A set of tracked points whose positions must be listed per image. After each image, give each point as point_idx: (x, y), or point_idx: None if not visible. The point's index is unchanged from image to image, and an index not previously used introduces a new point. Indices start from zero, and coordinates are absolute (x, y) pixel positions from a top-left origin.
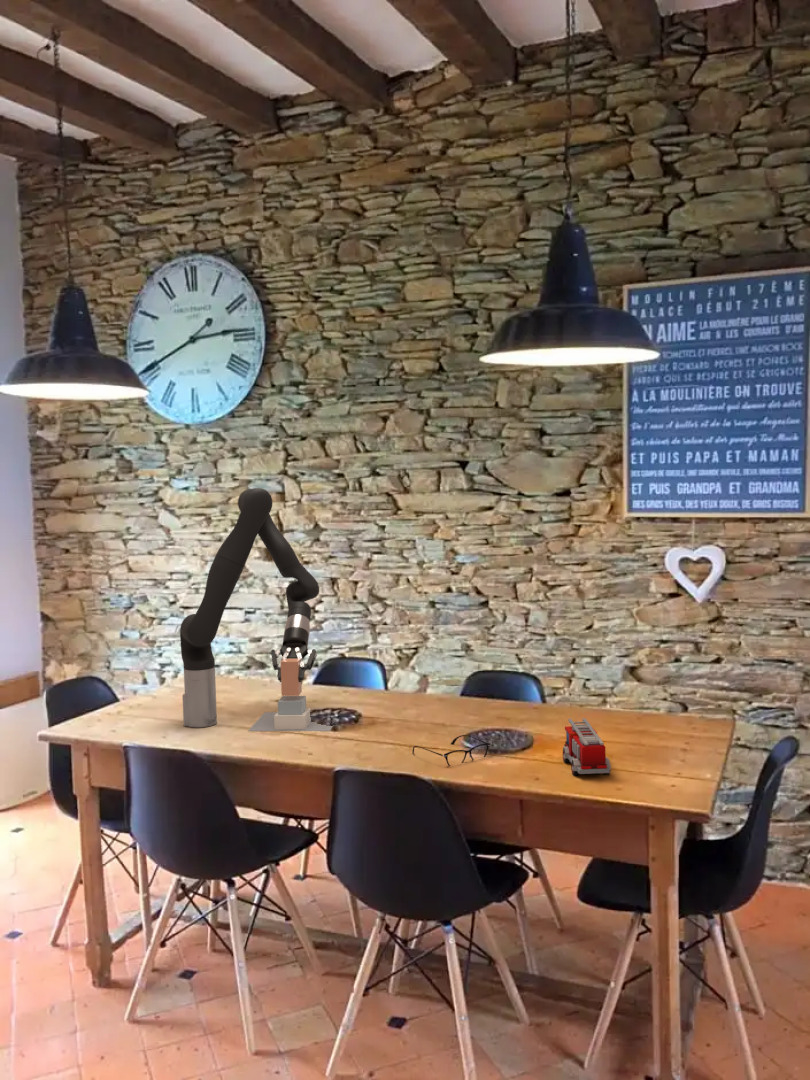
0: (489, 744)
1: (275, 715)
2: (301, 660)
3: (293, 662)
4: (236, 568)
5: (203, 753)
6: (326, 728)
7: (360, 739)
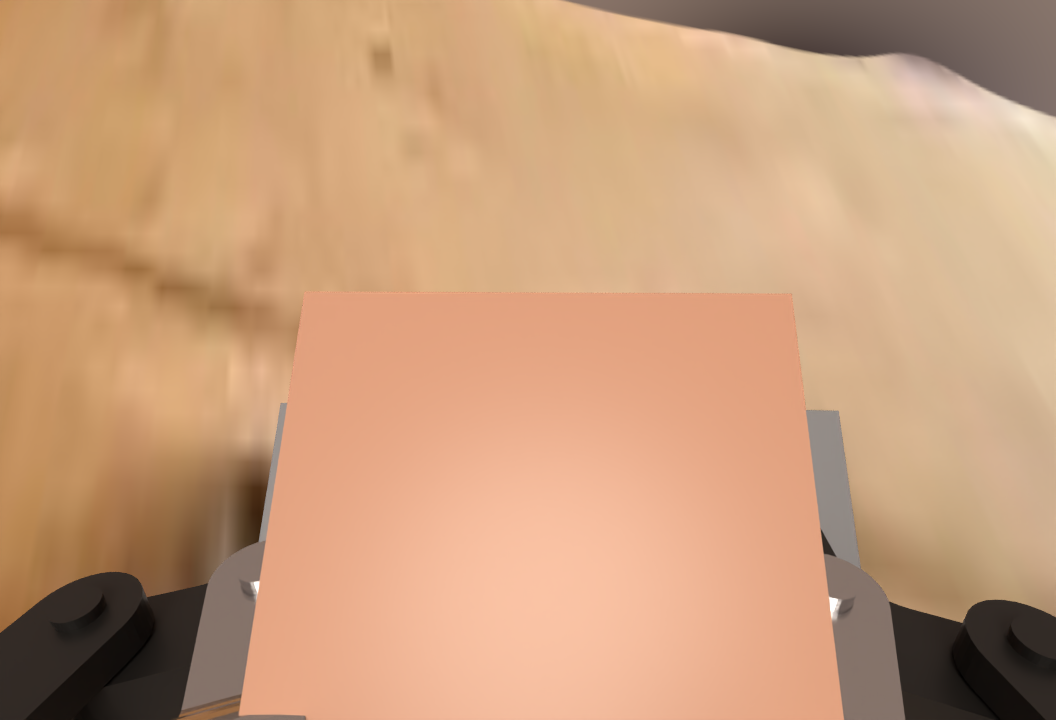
0: None
1: None
2: (218, 712)
3: (422, 298)
4: None
5: (923, 58)
6: None
7: (118, 283)
